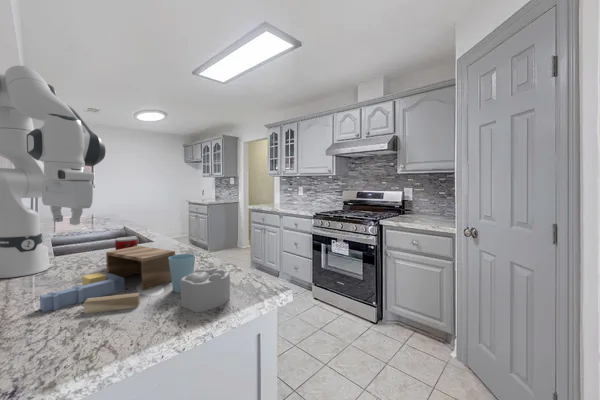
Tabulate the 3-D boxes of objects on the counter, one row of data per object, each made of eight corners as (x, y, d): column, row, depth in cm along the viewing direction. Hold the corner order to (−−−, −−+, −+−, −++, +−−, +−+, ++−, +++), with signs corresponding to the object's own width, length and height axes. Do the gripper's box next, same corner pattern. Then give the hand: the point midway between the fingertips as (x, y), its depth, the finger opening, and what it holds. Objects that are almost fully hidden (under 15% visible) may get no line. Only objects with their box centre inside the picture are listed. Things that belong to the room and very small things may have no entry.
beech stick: (88, 310, 75) (87, 298, 75) (139, 304, 79) (139, 292, 79) (84, 314, 73) (84, 302, 72) (138, 307, 77) (137, 296, 76)
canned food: (128, 267, 115) (127, 240, 114) (111, 266, 116) (110, 239, 116) (142, 262, 122) (141, 237, 122) (126, 261, 124) (125, 236, 123)
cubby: (107, 280, 98) (106, 251, 98) (139, 272, 108) (138, 245, 108) (144, 290, 89) (143, 258, 88) (175, 279, 99) (175, 251, 99)
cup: (175, 285, 93) (174, 253, 93) (199, 285, 93) (198, 253, 93) (164, 294, 86) (163, 259, 85) (190, 294, 86) (189, 259, 85)
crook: (32, 303, 79) (32, 290, 79) (110, 283, 95) (110, 273, 95) (45, 312, 73) (44, 298, 73) (126, 290, 89) (125, 278, 89)
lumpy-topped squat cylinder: (176, 304, 78) (175, 273, 78) (216, 290, 89) (216, 263, 88) (198, 314, 72) (198, 280, 72) (238, 298, 82) (238, 268, 82)
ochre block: (82, 290, 90) (82, 276, 89) (99, 286, 93) (98, 272, 93) (89, 293, 86) (89, 279, 86) (106, 289, 90) (106, 275, 90)
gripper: (34, 173, 82) (35, 221, 82) (70, 173, 72) (71, 227, 73) (60, 174, 87) (61, 219, 88) (97, 174, 78) (98, 224, 78)
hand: (66, 223), depth 80 cm, fingers open, 8 cm apart
